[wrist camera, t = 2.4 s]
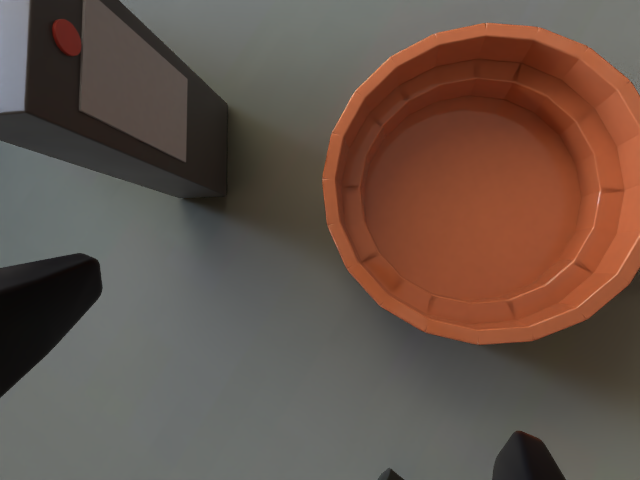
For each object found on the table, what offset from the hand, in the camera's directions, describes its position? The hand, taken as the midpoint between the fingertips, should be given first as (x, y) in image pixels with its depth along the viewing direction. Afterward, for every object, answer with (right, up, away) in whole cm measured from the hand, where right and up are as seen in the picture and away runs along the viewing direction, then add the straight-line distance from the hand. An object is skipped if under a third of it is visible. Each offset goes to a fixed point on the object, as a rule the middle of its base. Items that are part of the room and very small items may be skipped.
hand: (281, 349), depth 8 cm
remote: (-6, +7, +16) cm, 19 cm away
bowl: (+8, +4, +13) cm, 16 cm away
